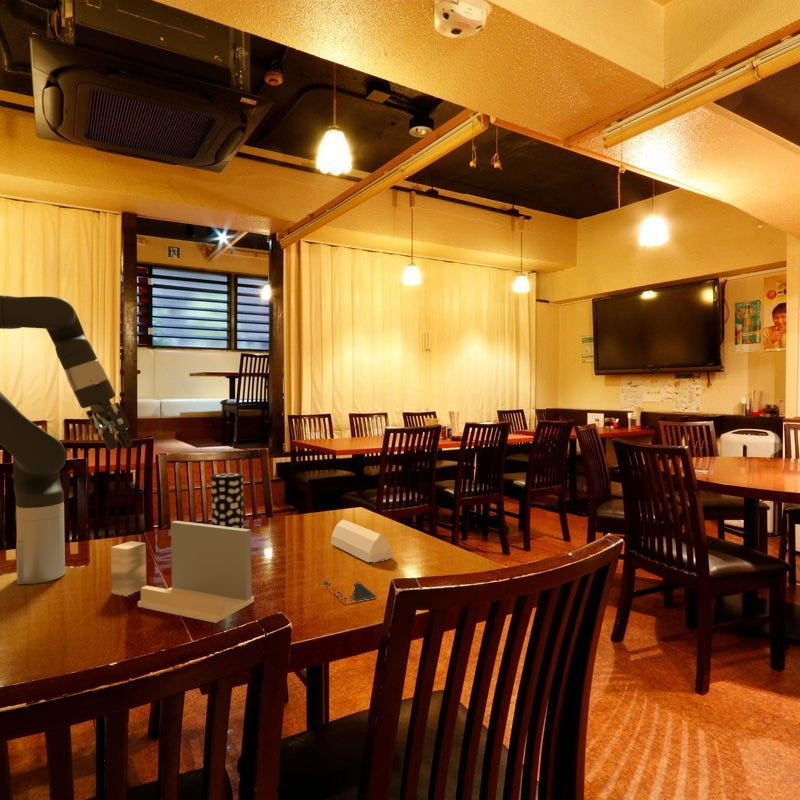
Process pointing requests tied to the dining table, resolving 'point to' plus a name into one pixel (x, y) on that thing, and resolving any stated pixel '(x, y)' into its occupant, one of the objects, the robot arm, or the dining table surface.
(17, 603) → the dining table surface
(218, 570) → the cleat board
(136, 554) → the birch block
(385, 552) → the white beveled bar
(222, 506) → the spotted tube
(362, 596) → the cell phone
